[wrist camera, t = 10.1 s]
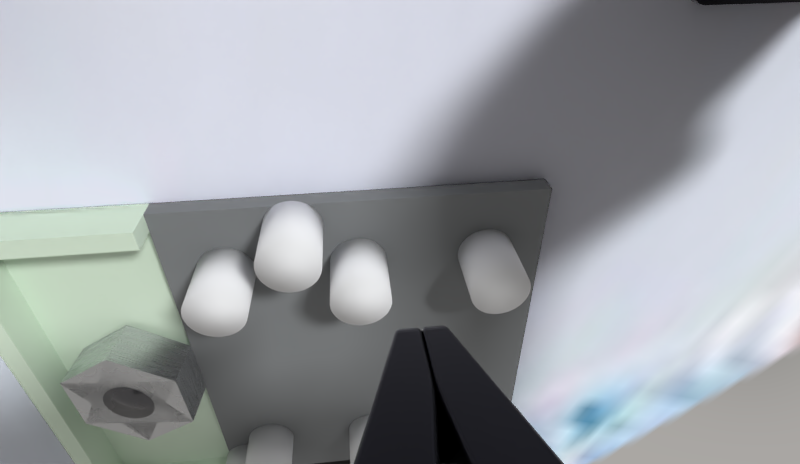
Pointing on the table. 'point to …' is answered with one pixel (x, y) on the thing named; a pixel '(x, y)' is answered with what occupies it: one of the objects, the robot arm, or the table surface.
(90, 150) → the table surface
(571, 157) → the table surface
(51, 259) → the spacer field
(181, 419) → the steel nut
